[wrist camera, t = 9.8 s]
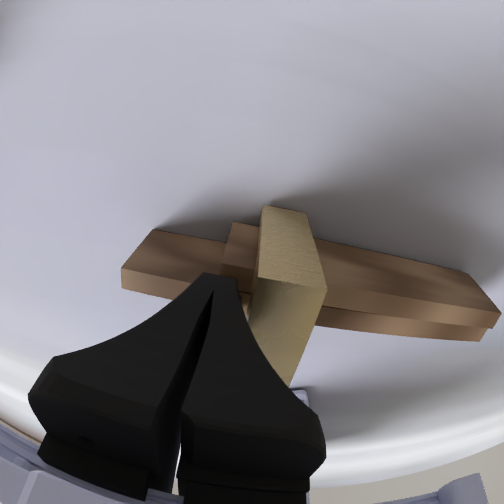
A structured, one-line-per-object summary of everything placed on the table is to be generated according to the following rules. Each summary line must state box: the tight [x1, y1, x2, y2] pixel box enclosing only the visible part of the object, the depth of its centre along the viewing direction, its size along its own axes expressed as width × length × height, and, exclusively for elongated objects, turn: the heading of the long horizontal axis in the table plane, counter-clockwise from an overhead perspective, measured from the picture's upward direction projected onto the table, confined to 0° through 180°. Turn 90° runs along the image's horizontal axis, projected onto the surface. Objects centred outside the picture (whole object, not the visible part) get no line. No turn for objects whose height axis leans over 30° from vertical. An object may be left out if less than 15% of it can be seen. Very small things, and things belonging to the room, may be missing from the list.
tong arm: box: [219, 222, 502, 329], centre depth 13 cm, size 14×1×4 cm, turn 79°
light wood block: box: [245, 205, 328, 387], centre depth 12 cm, size 2×4×6 cm, turn 170°
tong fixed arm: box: [121, 229, 488, 342], centre depth 14 cm, size 18×1×4 cm, turn 80°
